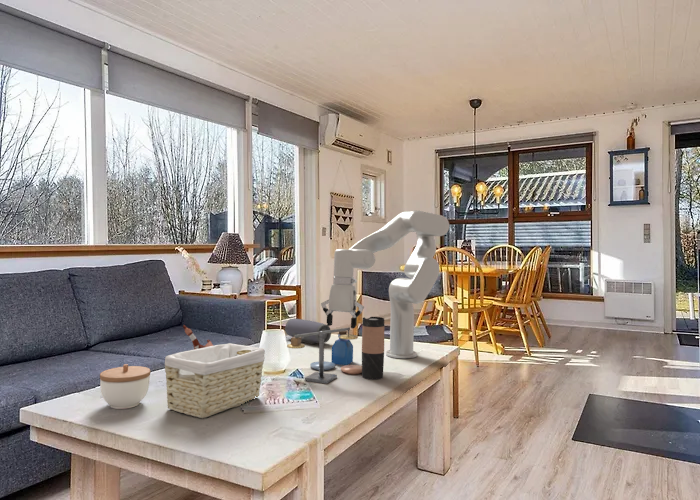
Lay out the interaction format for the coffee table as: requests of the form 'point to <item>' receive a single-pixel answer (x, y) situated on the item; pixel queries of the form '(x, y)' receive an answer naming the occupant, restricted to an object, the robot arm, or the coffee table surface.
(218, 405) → the storage basket
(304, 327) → the bluetooth speaker
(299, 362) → the coffee table surface
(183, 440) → the coffee table surface
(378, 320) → the travel mug
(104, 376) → the lidded bowl
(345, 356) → the perfume bottle
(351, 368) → the peach glossy round dome
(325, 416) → the coffee table surface
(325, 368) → the pale blue dome
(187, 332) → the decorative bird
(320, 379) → the balance
